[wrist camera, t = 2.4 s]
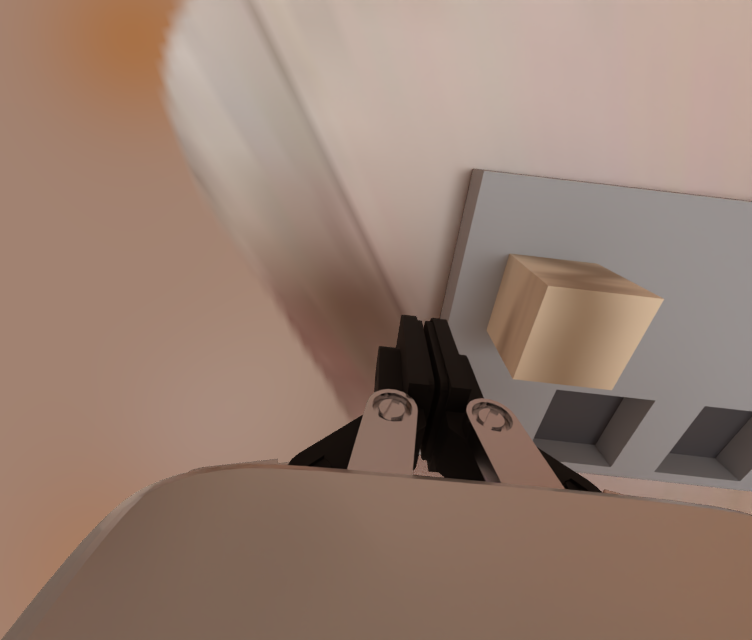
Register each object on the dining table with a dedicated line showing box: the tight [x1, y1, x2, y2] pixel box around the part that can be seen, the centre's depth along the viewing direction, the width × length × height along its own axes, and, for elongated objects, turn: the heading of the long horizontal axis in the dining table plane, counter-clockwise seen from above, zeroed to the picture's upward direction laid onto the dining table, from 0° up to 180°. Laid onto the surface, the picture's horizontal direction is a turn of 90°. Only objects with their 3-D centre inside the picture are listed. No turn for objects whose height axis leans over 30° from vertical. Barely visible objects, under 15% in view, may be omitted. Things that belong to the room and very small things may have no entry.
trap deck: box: [419, 169, 752, 491], centre depth 21 cm, size 32×21×6 cm, turn 84°
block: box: [487, 254, 664, 390], centre depth 17 cm, size 5×5×5 cm
